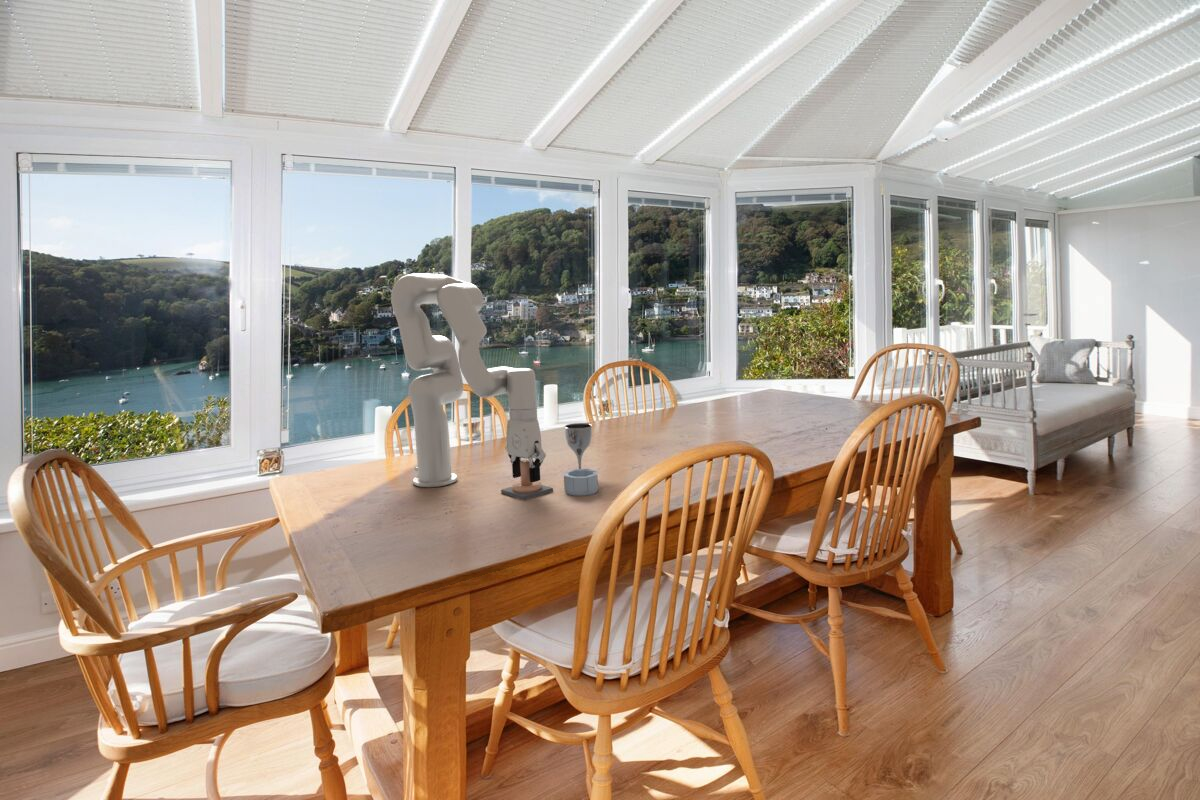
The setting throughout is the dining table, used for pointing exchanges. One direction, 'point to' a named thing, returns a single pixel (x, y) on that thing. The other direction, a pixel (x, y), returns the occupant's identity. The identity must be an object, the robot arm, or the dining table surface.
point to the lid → (526, 480)
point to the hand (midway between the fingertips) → (526, 478)
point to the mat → (526, 495)
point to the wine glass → (578, 438)
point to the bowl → (581, 482)
